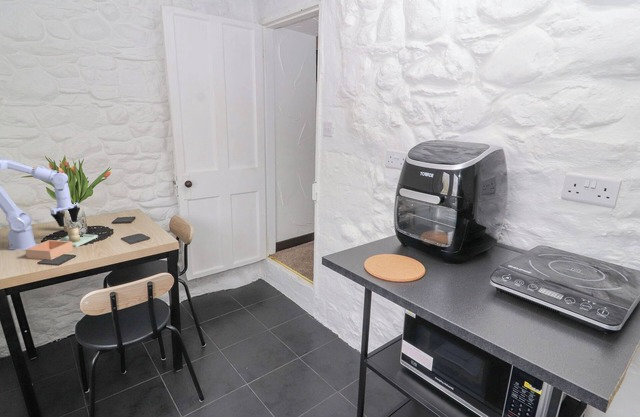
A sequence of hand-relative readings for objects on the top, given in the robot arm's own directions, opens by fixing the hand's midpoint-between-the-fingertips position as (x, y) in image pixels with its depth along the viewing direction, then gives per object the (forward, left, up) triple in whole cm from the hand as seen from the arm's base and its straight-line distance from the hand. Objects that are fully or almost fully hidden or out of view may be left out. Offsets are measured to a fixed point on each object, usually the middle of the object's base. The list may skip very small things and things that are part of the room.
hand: (68, 224), depth 173 cm
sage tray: (+2, 0, -9) cm, 9 cm away
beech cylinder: (+2, 0, -9) cm, 9 cm away
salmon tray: (+4, -16, -9) cm, 19 cm away
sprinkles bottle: (-15, +15, -10) cm, 23 cm away
